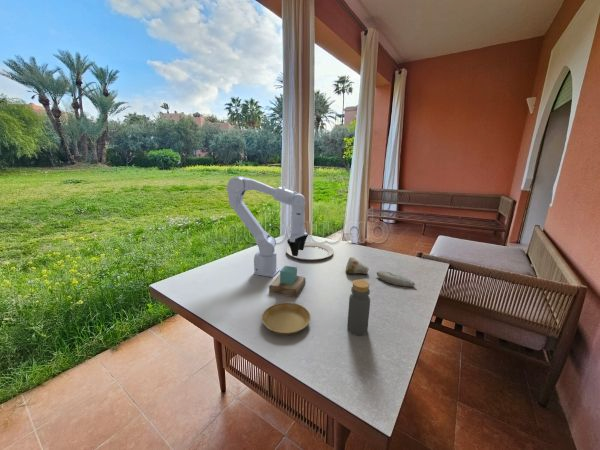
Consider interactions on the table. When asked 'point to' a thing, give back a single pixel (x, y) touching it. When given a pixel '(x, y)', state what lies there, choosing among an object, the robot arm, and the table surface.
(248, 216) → the robot arm
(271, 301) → the table surface
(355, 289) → the bottle
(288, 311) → the plant saucer
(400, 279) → the decorative stone
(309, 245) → the plate
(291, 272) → the teal cube
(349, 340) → the table surface
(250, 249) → the table surface
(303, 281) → the walnut plinth
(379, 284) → the table surface
